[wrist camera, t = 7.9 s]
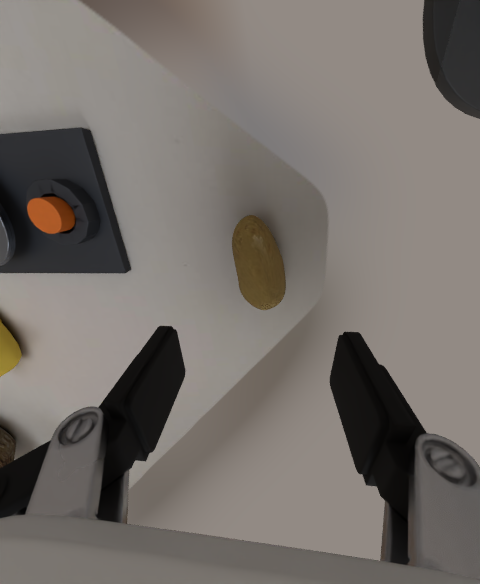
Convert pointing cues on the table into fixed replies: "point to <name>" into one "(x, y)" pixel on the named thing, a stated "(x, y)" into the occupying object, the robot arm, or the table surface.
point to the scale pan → (6, 238)
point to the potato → (258, 263)
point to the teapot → (8, 350)
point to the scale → (69, 187)
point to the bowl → (6, 448)
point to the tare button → (51, 214)
